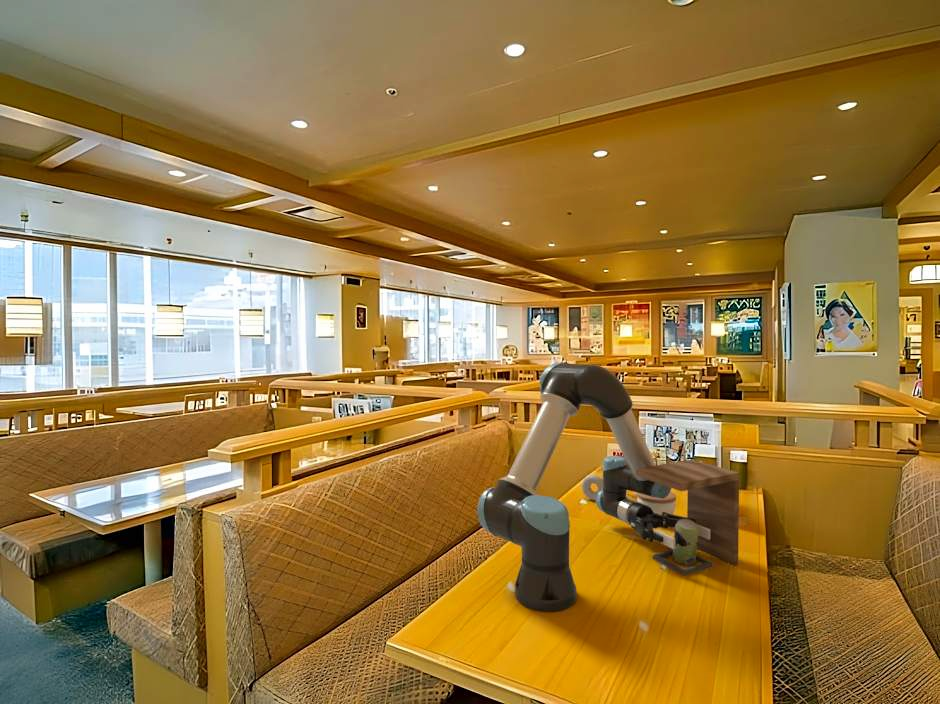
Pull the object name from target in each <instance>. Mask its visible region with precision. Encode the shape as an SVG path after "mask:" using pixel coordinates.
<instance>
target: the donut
mask: <svg viewBox="0 0 940 704" xmlns="http://www.w3.org/2000/svg"><path fill="white" fill-rule="evenodd" d="M592 484H594V485H596V487H597V490H596V491H594V490H593V489H592V487H591V486H592ZM581 490H582V493H583V494H584V496H585V497H586V498H587V499H588V500H591V501H594V502H596V498H597V496H598V493H599V492H600V491H601V490H603V477H601V476H599V475H598V474H588V475H586V476H585V477H584V478H583V480H582V482H581Z"/></svg>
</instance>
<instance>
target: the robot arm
mask: <svg viewBox="0 0 940 704" xmlns="http://www.w3.org/2000/svg"><path fill="white" fill-rule="evenodd" d="M539 384H540V385H539V393H540V396H539V398H540V401H541V402H542V404H541V406H540V409H539V410H538V412H537V415H536V416H535V418H534V421H533V422H532V424H531V426H530V429H529V430H528V432H527V435H526V436H525V439H524V441H523V443H522V444H521V447H520V449H519V451H518V453H517V455H516V456H515V457H516V458H515V459H514V461H513V463H512V466H511V468H510V470H509V471H508V474H507V475H506V476H503V477H501V478H499V480H498V481H497V483H496V486H495V487H490V488H488V489H485V490H484V492H483V493H482V494H481V496H480V498H479V500H478V504H477V508H476V509H477V510H476V511H477V516H478V522H479V523H480V526H481V527H482V528H483V529H484V530H485V531H486V532H489V533H490V534H491V535H493V536H495V537H498V538H501V539H503V540H505V541H508V542H510V543H512V544H514V545H517V546H519V547H521V565H520V567H519V571H518V574H517V576H516V580H515V582H514V583H515V584H514V596H515V599H516V600H517V601H518V602H519V603H520V604H521V605H522V606H524V607H527V608H529V609H532V610H535V611H541V612H558V611H564V610H567V609H568V608H570V607H572V606H573V605H574V604H575V603H576V602H577V585H576V584H575V583H576V582H575V580H574V578H573V573H572V570H571V567H570V528H571V527H570V526H571V521H570V516H569V510H568V507H567V506H566V505H565V504H564V502H562V501H560V500H558V499H556V498H554V497H551V496H547V495H544V496H543V495H541V494H537V492H536V490H537V488H538V486H539V484H540V482H541V480H542V477H543V475H544V473H545V471H546V468H547V466H548V464H549V463H550V460H551V458H552V456H553V453H554V452H555V449H556V447H557V445H558V443H559V441H560V439H561V436H562V434H563V432H564V430H565V427H566V425H567V423H568V421H569V418H570V417H573V416H576V415H577V414H578V412H579V411H580V408H581V406H582V405H583V406H591V407H594V408H595V409H596V410H597V411H598V413H599V415H600V417H601V418H603V419H605V420H606V422H607V424H608V425H609V428H610V430H611V432H612V435H613V437H614V438H615V440H616V443H617V445H618V447H619V449H620V451H621V453H622V456H624V458H623V457H620V456H621V455H610V456H605V457H604V459H603V463H602V464H603V465H602V479H603V490H601V491H600V492H599V493H598V496H597V498H596V501H595V504H596V507H597V508H598V510H600V511H601V512H603V513H604V514H606V515H608V516H610V517H613V518H615V519H617V520H619V521H622V522H624V523H625V524H627V525H629V526H630V527H631V529H633V530H635V532H636V533H637V534H638V535H639V537H640V538H641V540H643V541H647V540H648V542H649V543H654V541H656V542H657V543H660V544H661V545H664V546H666V547H668V548H670V549H671V550H673V549H675V538H674V536H673V537H672V536H671V535H668V534H666V533H664V532H661V531H659V530H657V529H658V528H662V529H668V528H674V529H675V525H676V523H677V522H678V520H680V519H688V520H691V521H693V522H695V519H692V518H687V516H681V515H677V514H669V513H666V512H662V515H659V514H656V513H654V512H653V511H652V509H651V508H650V507H649V506H647V505H644V504H642V503H640V502H638V500H635V499H632V498H629V497H628V496H627V491H629V492H633V493H636V494H637V493H640V494H644V495H647V496H651V497H656V498H660V499H664V498H666V497H667V496H668V495H669V493H670V492H672V491H671V490H672V488H670V487H667V486H664V485H661V484H659V483H656V482H653V481H650V480H647V479H644V478H641V477H639V476H636V469H637V468H643V467H649V466H655V465H656V464H655V462H654V459H653V456H652V454H651V452H650V449H649V447H648V445H647V443H646V439H645V438H644V436H643V433H642V430H641V429H640V426H639V423H638V422H637V419H636V417H635V414H634V412H633V410H632V408H633V406H634V404H633V400H632V399H631V395H630V393H629V392H628V390H627V389H626V387H625V385H624V384H623V383H622V382H621V381H620V380H619V378H618V377H617V376H615V374H613V373H612V372H611V371H610V370H608V369H607V368H605V367H603V366H600V365H597V364H584V363H583V364H580V363H578V364H575V363H569V362H559V363H558V362H557V363H553V364H550V365H549V366H548V367H546V368H545V369H544V371H543V372H542V374H541V376H540V378H539ZM627 464H628V466H627ZM663 521H664V522H665V523H663ZM696 525H697V528H698V535H699V536H701V537H704V538H706V539H708V540H709V539H710V529H708V528H705V527H703V526H700V525H698V524H696ZM654 529H656V530H654Z"/></svg>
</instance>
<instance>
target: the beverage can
mask: <svg viewBox="0 0 940 704" xmlns="http://www.w3.org/2000/svg"><path fill="white" fill-rule="evenodd" d="M673 535H674V536H673V538H675V549H672V550H673V556H672V557H673V559H674V560H675V561H677V562H678V563H679V564H682V565H692V564H694V563H696V562H697V561H696V555H697V551H698V549H697V542H698V528H697V525H696V523H695V522H693V521H691V520H688V519H680V520H678V522H677V523H676V525H675V528H674V533H673Z"/></svg>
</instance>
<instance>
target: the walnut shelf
mask: <svg viewBox="0 0 940 704" xmlns="http://www.w3.org/2000/svg"><path fill="white" fill-rule="evenodd" d="M699 461H700V460H694V459H687V460H686V459H685V460H681V461H674V462H668V463H663V464H655V466H649V467H643V468H637V469H636V476H639V477H641V478H644V479H647V480H650V481H653V482H656V483H659V484H661V485H664V486H667V487H670V488H671V489H674V490H677V491H679V492H685V491H687V512H686V514H687V516H686V517H687V518H692V519H695V523H696V524H698V525H700V526H703V527H705V528H708V529H710V539H709V540H708V539H706V538H704V537H701V536H699V535H698V542H697V551H700V552H702V553H704V552H705V554H706V553H707V555H708V554H709V556H711V557H713V556H714V557H713V558H715V557H716V558H715V559H717V558H718V559H717V560H719V559H720V560H719V561H721V560H722V562H723V563H726V564H728V563H729V564H728V565H730V566H732V565H733V566H732V567H737V565H738V566H739V527H740V526H739V525H740V524H739V521H740V519H739V518H740V517H739V516H740V515H739V514H740V509H739V508H740V472H739V471H734V470H732V469H728V468H723V467H720V466H717V465H713V464H710V463H705V462H703V461H702V462H703V463H702V462H699Z"/></svg>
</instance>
